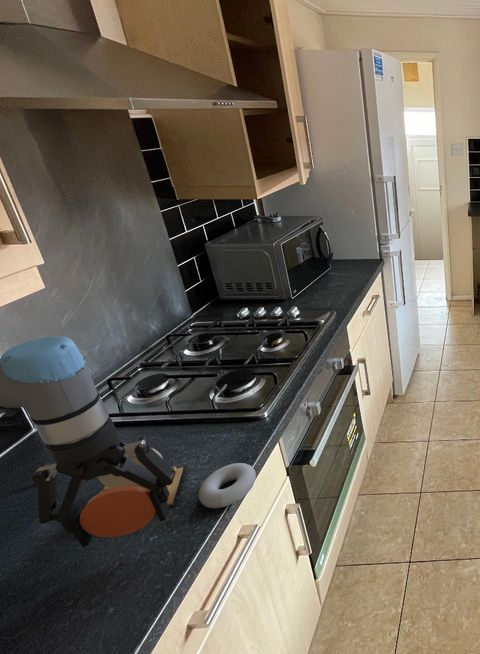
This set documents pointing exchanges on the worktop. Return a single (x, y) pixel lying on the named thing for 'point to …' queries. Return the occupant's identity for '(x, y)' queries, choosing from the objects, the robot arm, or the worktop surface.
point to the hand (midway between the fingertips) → (127, 526)
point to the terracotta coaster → (117, 511)
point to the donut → (224, 497)
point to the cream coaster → (115, 481)
